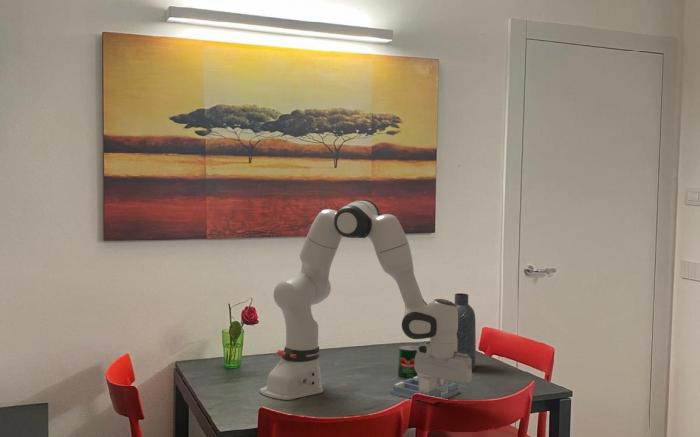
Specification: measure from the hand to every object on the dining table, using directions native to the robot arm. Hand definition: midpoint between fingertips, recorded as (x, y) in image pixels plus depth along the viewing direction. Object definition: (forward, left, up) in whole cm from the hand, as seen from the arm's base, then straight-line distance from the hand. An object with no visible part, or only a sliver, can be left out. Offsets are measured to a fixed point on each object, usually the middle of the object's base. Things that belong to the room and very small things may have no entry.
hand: (442, 391), depth 254 cm
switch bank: (+6, +10, -4) cm, 12 cm away
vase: (+42, +18, -4) cm, 46 cm away
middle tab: (+6, +6, -3) cm, 9 cm away
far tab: (+11, +14, -3) cm, 18 cm away
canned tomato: (+18, +25, -4) cm, 32 cm away
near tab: (0, +6, -3) cm, 7 cm away
